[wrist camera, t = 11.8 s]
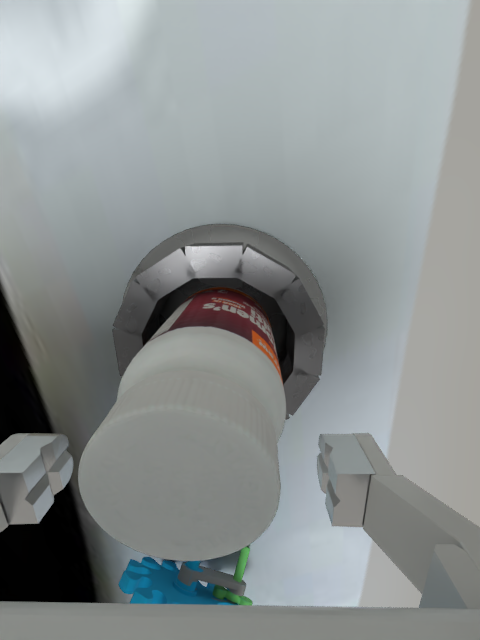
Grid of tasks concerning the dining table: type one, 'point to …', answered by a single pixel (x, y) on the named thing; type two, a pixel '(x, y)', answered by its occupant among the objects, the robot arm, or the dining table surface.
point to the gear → (184, 583)
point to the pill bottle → (192, 435)
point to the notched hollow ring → (237, 272)
